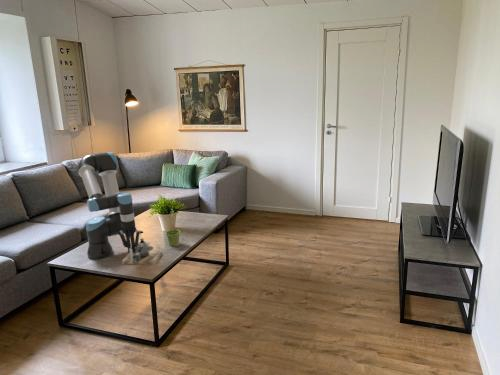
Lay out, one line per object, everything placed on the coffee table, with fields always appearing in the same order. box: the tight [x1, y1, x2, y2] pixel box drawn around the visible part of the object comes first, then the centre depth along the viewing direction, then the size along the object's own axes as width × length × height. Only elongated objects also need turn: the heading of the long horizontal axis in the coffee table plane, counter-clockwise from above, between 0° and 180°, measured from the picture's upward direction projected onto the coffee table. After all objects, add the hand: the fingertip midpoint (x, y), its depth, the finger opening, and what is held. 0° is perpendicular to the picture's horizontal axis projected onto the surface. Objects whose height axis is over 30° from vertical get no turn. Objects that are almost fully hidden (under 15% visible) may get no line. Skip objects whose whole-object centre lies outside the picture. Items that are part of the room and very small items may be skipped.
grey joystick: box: [138, 230, 151, 247], centre depth 244 cm, size 12×10×10 cm
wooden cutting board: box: [121, 250, 163, 265], centre depth 231 cm, size 20×14×2 cm
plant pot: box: [165, 229, 181, 247], centre depth 249 cm, size 9×9×9 cm
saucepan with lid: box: [132, 243, 150, 262], centre depth 225 cm, size 16×8×7 cm, turn 176°
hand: (132, 257), depth 222 cm, fingers closed
